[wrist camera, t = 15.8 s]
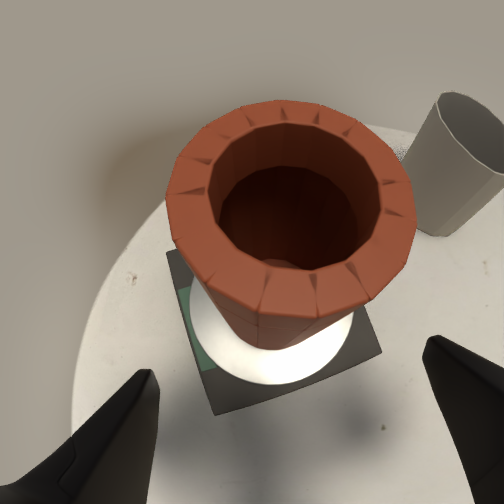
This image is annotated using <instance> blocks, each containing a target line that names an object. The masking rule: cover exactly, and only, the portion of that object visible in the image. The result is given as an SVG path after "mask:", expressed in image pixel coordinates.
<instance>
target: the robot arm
mask: <svg viewBox="0 0 504 504" xmlns="http://www.w3.org/2000/svg"><path fill="white" fill-rule="evenodd" d="M422 360H423V364H424V366H425V369H426V372H427V375H428V378H429V381H430V384H431V387H432V390H433V393H434V396H435V398H436V400H437V403H438V405H439V407H440V410H441V412H442V414H443V417H444V419H445V421H446V424H447V426H448V429H449V431H450V434H451V436H452V439H453V441H454V444H455V446H456V449H457V452H458V454H459V457H460V460H461V462H462V465H463V468H464V471H465V474H466V477H467V480H468V483H469V486H470V489H471V492H472V496H473V499H474V502H475V504H504V368H502V367H500V366H499V365H497V364H495V363H493V362H491V361H489V360H487V359H485V358H483V357H481V356H479V355H478V354H476V353H474V352H472V351H470V350H468V349H466V348H464V347H462V346H460V345H458V344H456V343H454V342H452V341H451V340H449V339H447V338H445V337H443V336H441V335H435V336H431V337H429V338H428V340H427V343H426V346H425V349H424V352H423V355H422ZM159 401H160V388H159V385H158V382H157V380H156V377H155V375H154V372H153V371H152V370H151V369H139V370H138V371H137V372H136V373H135V374H134V375H133V376H132V377H131V378H130V379H129V380H128V381H127V382H126V383H125V384H124V385H123V386H122V387H121V388H120V389H119V390H118V391H117V392H116V393H115V394H114V395H112V396H111V397H110V398H109V399H108V400H107V401H106V402H105V403H104V404H103V405H102V406H101V407H100V408H99V409H98V410H97V411H96V412H95V413H94V414H93V415H92V416H91V417H90V418H89V419H88V420H87V421H86V422H85V423H84V424H83V425H82V426H81V427H80V428H79V429H78V430H77V431H76V432H75V433H74V434H73V435H72V437H70V438H69V439H68V440H67V441H66V442H64V444H62V445H61V446H60V447H59V448H58V449H57V450H56V451H55V452H54V453H53V454H51V455H50V456H49V457H48V458H47V459H45V460H44V461H43V462H41V463H40V464H39V465H37V466H36V467H35V468H34V469H32V470H31V471H30V472H28V473H27V474H26V475H25V476H23V477H22V478H20V479H19V480H17V481H16V482H14V483H11V484H8V485H4V486H0V504H146V502H147V495H148V488H149V481H150V475H151V469H152V463H153V457H154V451H155V445H156V439H157V432H158V416H159Z"/></svg>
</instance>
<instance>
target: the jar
mask: <svg viewBox="0 0 504 504" xmlns="http://www.w3.org/2000/svg"><path fill="white" fill-rule="evenodd" d="M410 182H411V180H410V178H409V177H408V175H407V173H406V172H405V170H404V168H403V167H402V165H401V163H400V162H399V160H398V158H397V157H396V155H395V153H394V152H393V150H392V149H391V148H390V147H389V146H388V145H387V144H386V143H385V142H384V141H383V140H381V139H380V138H379V137H378V136H377V135H376V134H374V133H373V132H372V131H371V130H370V129H368V128H367V127H366V126H365V125H363V124H362V123H361V122H358V121H357V120H356V119H354V118H352V117H350V116H347V115H345V114H343V113H340V112H338V111H336V110H333V109H331V108H328V107H326V106H323V105H321V106H320V105H319V104H314V103H307V102H298V101H288V100H274V101H268V102H262V103H256V104H251V105H246V106H241V107H240V108H238V109H235V110H233V111H231V112H229V113H227V114H226V115H224V116H222V117H220V118H218V119H216V120H214V121H213V122H211V123H209V124H207V125H206V126H205V127H203V128H202V129H201V130H200V131H199V132H198V133H197V134H196V135H195V136H194V138H193V139H192V140H191V141H190V142H189V143H188V144H187V146H186V147H185V148H184V149H183V150H182V152H181V153H180V154H179V156H178V157H177V159H176V162H175V165H174V168H173V171H172V175H171V178H170V181H169V185H168V188H167V191H166V197H165V200H166V207H167V213H168V219H169V224H170V230H171V236H172V240H173V242H174V243H175V246H176V248H177V249H178V251H179V252H180V254H181V255H182V257H183V258H184V260H185V262H186V263H187V265H188V266H189V268H190V269H191V271H192V272H193V274H194V275H195V277H196V278H197V280H198V281H199V283H200V284H201V286H202V287H203V289H204V290H205V292H206V293H207V295H208V296H209V298H210V299H211V301H212V302H213V303H214V305H215V306H216V308H217V309H218V311H219V312H220V314H221V315H222V316H223V318H224V319H225V321H226V322H227V323H228V325H229V326H230V327H231V329H232V330H233V331H234V332H235V334H236V335H237V336H238V337H239V338H240V339H241V340H243V341H245V342H246V343H248V344H249V345H252V346H254V347H256V348H259V349H265V350H281V349H285V348H289V347H291V346H294V345H297V344H299V343H301V342H303V341H305V340H306V339H308V338H310V337H312V336H314V335H315V334H317V333H319V332H320V331H322V330H324V329H326V328H327V327H329V326H331V325H332V324H334V323H336V322H337V321H339V320H341V319H342V318H344V317H346V316H347V315H349V314H351V313H352V312H354V311H355V310H357V309H359V308H360V307H362V306H363V305H365V304H367V303H368V302H370V301H371V300H373V299H374V298H375V297H376V296H377V295H378V294H379V293H380V292H381V291H382V290H383V289H384V288H385V287H386V286H387V285H388V284H389V283H390V282H391V280H392V279H393V278H394V277H395V276H396V275H397V274H398V273H399V272H400V271H401V270H402V269H403V268H404V266H405V264H406V262H407V259H408V256H409V252H410V249H411V246H412V242H413V239H414V236H415V232H416V228H417V223H416V222H417V216H416V209H415V203H414V196H413V190H412V185H411V183H410Z"/></svg>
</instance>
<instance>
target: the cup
mask: <svg viewBox="0 0 504 504" xmlns="http://www.w3.org/2000/svg"><path fill="white" fill-rule="evenodd" d="M401 165H402V167H403V168H404V170H405V172H406V173H407V175H408V177H409V178H410V180H411V182H410V183H411V185H412V190H413V196H414V203H415V209H416V216H417V222H416V223H417V228H418V229H420V230H421V231H423V232H425V233H427V234H429V235H431V236H448V235H450V234H451V233H453V232H454V231H456V230H457V229H459V228H460V227H461V226H462V225H463V224H464V223H466V222H467V221H468V220H469V219H470V218H471V217H472V216H474V215H475V214H476V213H477V212H478V211H479V210H480V209H481V208H483V207H484V206H485V205H486V204H487V203H488V202H489V201H490V200H491V199H492V198H493V197H494V196H496V195H497V194H498V193H499V192H500V191H501V190H502V189H503V188H504V124H503V123H502V122H501V121H500V120H499V119H498V118H497V117H496V116H495V115H494V114H493V113H492V112H491V111H490V110H489V109H488V108H487V107H486V106H484V105H483V104H481V103H480V102H478V101H476V100H475V99H473V98H472V97H470V96H468V95H465V94H462V93H459V92H456V91H446V92H441V93H440V94H439V96H438V98H437V100H436V101H435V103H434V105H433V107H432V109H431V111H430V113H429V115H428V116H427V118H426V120H425V122H424V124H423V125H422V127H421V129H420V131H419V133H418V134H417V136H416V138H415V140H414V141H413V143H412V145H411V147H410V148H409V150H408V152H407V154H406V155H405V157H404V159H403V160H402V162H401Z"/></svg>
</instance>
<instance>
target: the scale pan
mask: <svg viewBox="0 0 504 504" xmlns="http://www.w3.org/2000/svg"><path fill="white" fill-rule="evenodd" d="M189 314H190V320H191V324H192V328H193V331H194V333H195V336H196V338H197V340H198V342H199V344H200V346H201V347H202V349H203V350H204V351H205V353H206V354H207V356H208V357H209V358H210V359H211V360H212V361H213V362H214V363H215V364H216V365H218V366H219V367H220V368H221V369H223V370H224V371H225V372H227V373H229V374H231V375H232V376H234V377H236V378H239V379H241V380H244V381H247V382H250V383H254V384H260V385H283V384H290V383H293V382H297V381H300V380H303V379H305V378H307V377H309V376H311V375H313V374H315V373H316V372H318V371H320V370H321V369H322V368H324V367H325V366H326V365H327V364H328V363H329V362H330V361H331V360H332V359H333V358H334V357H335V356H336V355H337V354H338V352H339V351H340V349H341V348H342V346H343V345H344V343H345V341H346V339H347V337H348V335H349V332H350V329H351V326H352V321H353V315H354V312H352V313H351V314H349V315H347V316H346V317H344V318H342V319H341V320H339V321H337V322H336V323H334V324H332V325H331V326H329V327H327V328H326V329H324V330H322V331H320V332H319V333H317V334H315V335H314V336H312V337H310V338H308V339H306V340H305V341H303V342H301V343H299V344H297V345H294V346H291V347H289V348H285V349H281V350H265V349H259V348H256V347H254V346H252V345H249V344H248V343H246V342H245V341H243V340H241V339H240V338H239V337H238V336H237V335H236V334H235V332H234V331H233V330H232V329H231V327H230V326H229V325H228V323H227V322H226V321H225V319H224V318H223V316H222V315H221V314H220V312H219V311H218V309H217V308H216V306H215V305H214V303H213V302H212V301H211V299H210V298H209V296H208V295H207V293H206V292H205V290H204V289H203V287H202V286H201V284H200V283H199V281H198V280H197V278H196V277H195V275H194V278H193V281H192V284H191V289H190V295H189Z"/></svg>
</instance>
